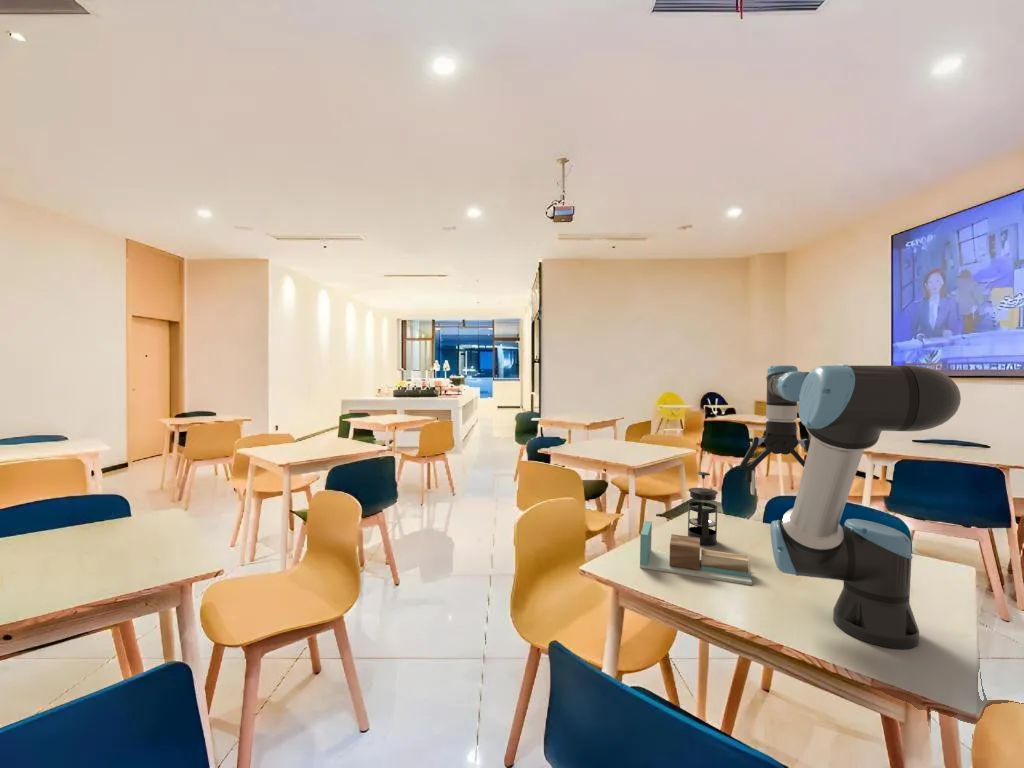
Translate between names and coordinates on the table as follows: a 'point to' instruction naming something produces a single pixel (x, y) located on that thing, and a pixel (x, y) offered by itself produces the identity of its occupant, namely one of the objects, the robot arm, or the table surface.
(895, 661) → the table surface
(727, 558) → the light wood bar
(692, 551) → the block
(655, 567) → the railed board with endplate
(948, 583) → the table surface
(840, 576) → the robot arm
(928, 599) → the table surface
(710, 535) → the french press
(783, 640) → the table surface
